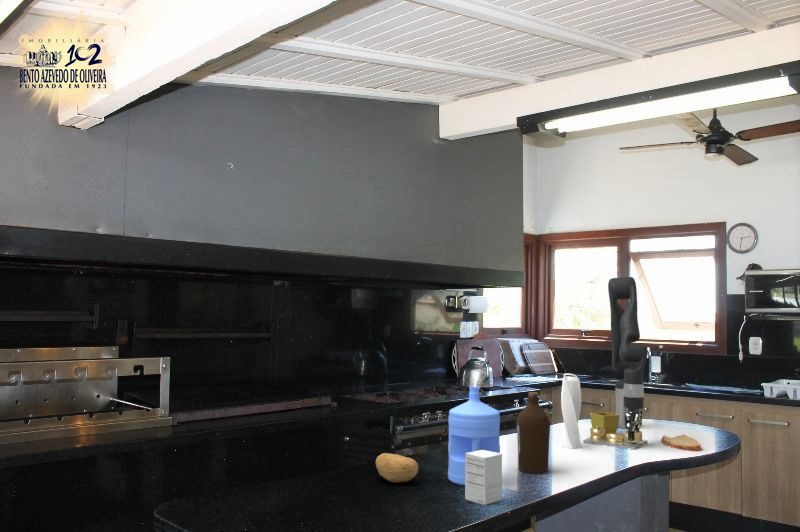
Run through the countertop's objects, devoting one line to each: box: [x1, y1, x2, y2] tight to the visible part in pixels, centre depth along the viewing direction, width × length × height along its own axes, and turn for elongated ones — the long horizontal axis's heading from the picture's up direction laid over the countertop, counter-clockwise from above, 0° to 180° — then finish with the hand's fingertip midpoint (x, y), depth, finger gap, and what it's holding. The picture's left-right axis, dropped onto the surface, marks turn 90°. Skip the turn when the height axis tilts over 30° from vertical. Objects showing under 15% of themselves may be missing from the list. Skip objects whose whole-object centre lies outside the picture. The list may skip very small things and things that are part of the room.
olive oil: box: [516, 391, 551, 475], centre depth 227 cm, size 11×11×25 cm
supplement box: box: [464, 450, 503, 506], centre depth 191 cm, size 7×7×13 cm
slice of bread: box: [660, 433, 703, 452], centre depth 273 cm, size 18×18×4 cm
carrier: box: [583, 427, 648, 450], centre depth 275 cm, size 16×20×6 cm
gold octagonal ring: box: [625, 429, 643, 442], centre depth 271 cm, size 6×6×4 cm
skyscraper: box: [560, 372, 582, 450], centre depth 267 cm, size 8×8×28 cm
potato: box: [375, 452, 419, 483], centre depth 209 cm, size 10×14×8 cm
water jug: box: [447, 386, 501, 487], centre depth 213 cm, size 16×16×28 cm
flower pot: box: [589, 411, 619, 435], centre depth 292 cm, size 9×9×9 cm
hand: (633, 439), depth 271 cm, fingers closed on gold octagonal ring, 5 cm apart
